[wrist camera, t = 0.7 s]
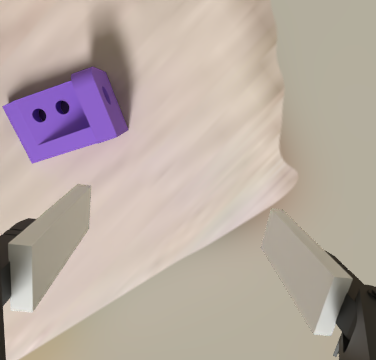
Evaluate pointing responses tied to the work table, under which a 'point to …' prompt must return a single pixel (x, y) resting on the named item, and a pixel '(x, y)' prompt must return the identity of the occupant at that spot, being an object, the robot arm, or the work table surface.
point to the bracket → (67, 116)
